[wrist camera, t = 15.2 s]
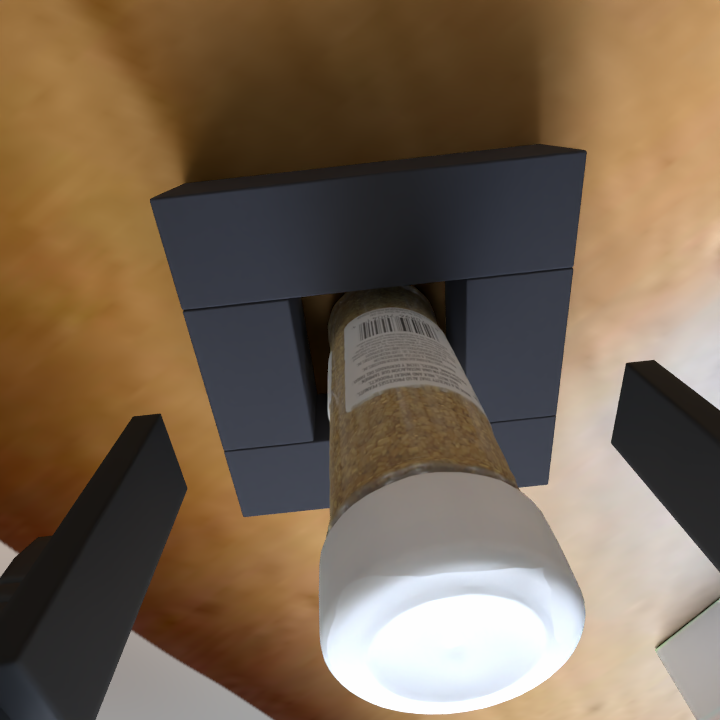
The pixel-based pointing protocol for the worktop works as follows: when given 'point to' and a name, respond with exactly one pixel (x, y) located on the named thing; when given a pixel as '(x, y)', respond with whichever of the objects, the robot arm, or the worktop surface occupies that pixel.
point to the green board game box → (696, 663)
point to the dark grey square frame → (372, 271)
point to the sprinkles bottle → (429, 527)
